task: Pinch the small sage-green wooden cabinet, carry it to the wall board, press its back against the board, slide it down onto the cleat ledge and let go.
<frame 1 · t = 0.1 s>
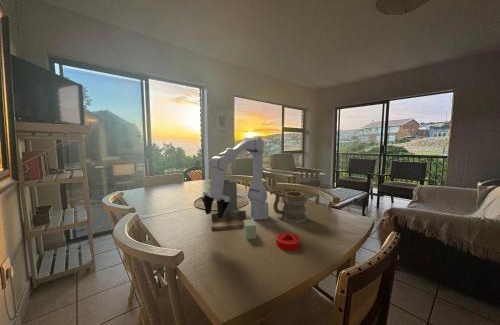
hand: (214, 215, 87), 11 cm above the table, tool pointing down, fingers open, 7 cm apart
mini cabinet: (249, 235, 91), on the table
tankard: (287, 218, 111), on the table
hip flask: (227, 211, 122), on the table
decorative ornament: (288, 245, 83), on the table
cleat wall: (229, 224, 104), on the table
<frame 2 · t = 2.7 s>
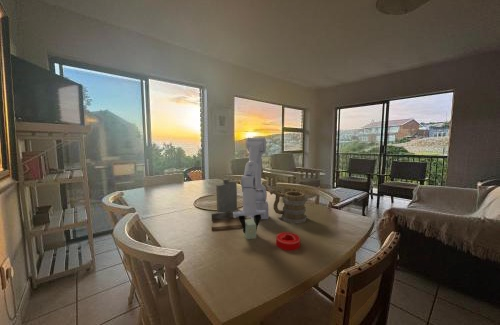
hand: (249, 231, 91), 2 cm above the table, tool pointing down, fingers closed on mini cabinet, 4 cm apart
mini cabinet: (249, 235, 91), on the table, touching gripper
everything else where it was.
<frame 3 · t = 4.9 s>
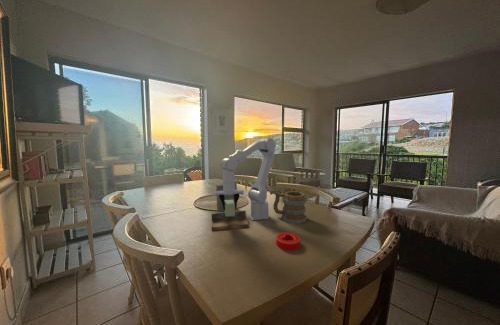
hand: (229, 209, 101), 8 cm above the table, tool pointing down, fingers closed on mini cabinet, 4 cm apart
mini cabinet: (229, 213, 101), point 6 cm above the table, touching gripper
everything else where it was.
when the fingers open (3 cm above the table, at t = 7.3 s): mini cabinet stays where it is, resting on cleat wall.
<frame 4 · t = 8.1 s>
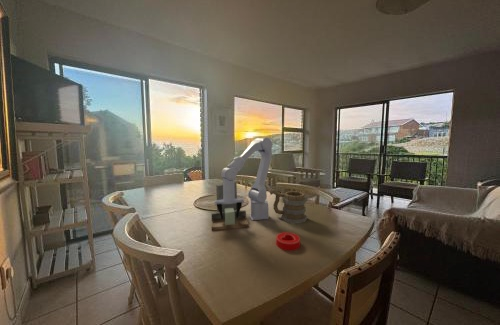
hand: (229, 217, 103), 4 cm above the table, tool pointing down, fingers open, 7 cm apart
mini cabinet: (229, 221, 103), point 1 cm above the table, touching cleat wall
everything else where it was.
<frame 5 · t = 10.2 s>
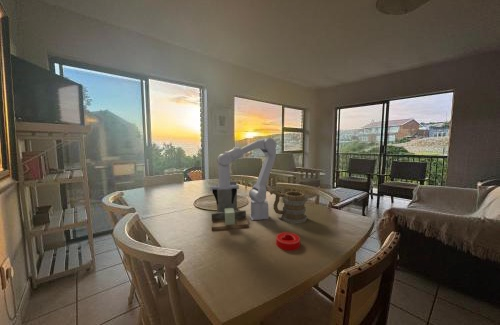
hand: (224, 203, 104), 10 cm above the table, tool pointing down, fingers open, 7 cm apart
nothing on the table moved.
at the end: mini cabinet 0.1 cm from the target spot, point 1.5 cm above the table; mini cabinet tilted 0°; the gripper is holding nothing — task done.
